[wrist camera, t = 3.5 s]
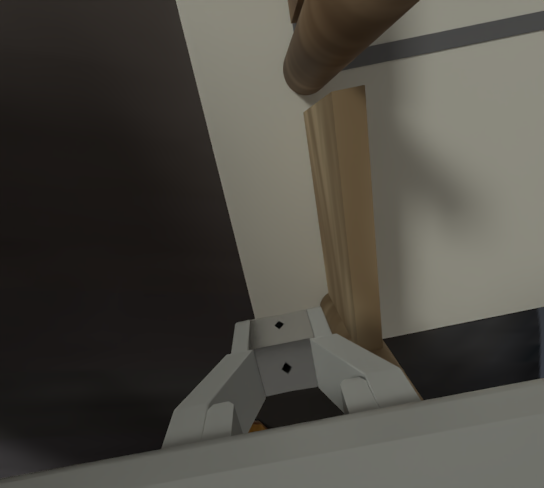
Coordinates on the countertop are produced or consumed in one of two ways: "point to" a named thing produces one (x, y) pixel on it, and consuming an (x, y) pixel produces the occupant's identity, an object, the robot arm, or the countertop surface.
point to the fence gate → (347, 217)
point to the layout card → (388, 156)
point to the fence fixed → (333, 37)
